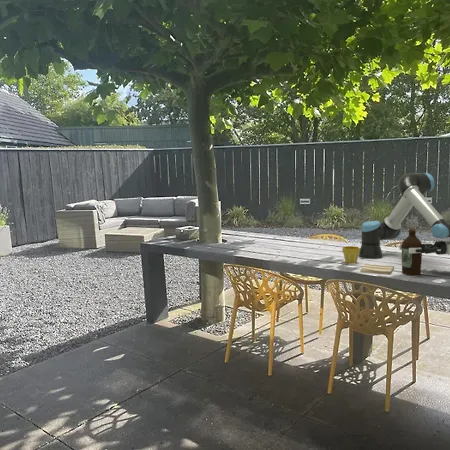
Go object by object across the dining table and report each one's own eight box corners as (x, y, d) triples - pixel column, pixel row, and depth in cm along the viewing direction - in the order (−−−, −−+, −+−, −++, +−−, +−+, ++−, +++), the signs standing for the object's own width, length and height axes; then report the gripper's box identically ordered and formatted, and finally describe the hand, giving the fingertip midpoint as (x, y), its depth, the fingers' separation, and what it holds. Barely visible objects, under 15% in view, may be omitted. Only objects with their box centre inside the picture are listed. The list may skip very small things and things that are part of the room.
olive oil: (410, 270, 243) (411, 227, 240) (426, 274, 233) (427, 229, 230) (396, 273, 238) (397, 228, 236) (411, 276, 229) (412, 230, 226)
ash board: (365, 266, 257) (365, 264, 256) (393, 268, 249) (393, 266, 249) (360, 272, 243) (360, 269, 242) (390, 274, 235) (390, 271, 235)
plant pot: (349, 265, 262) (349, 249, 260) (338, 262, 271) (339, 246, 270) (363, 263, 266) (363, 247, 264) (352, 260, 275) (352, 245, 274)
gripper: (455, 258, 224) (414, 259, 223) (432, 250, 247) (394, 251, 246) (456, 244, 223) (414, 245, 222) (433, 237, 246) (395, 239, 245)
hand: (404, 248), depth 234 cm, fingers closed on olive oil, 10 cm apart
